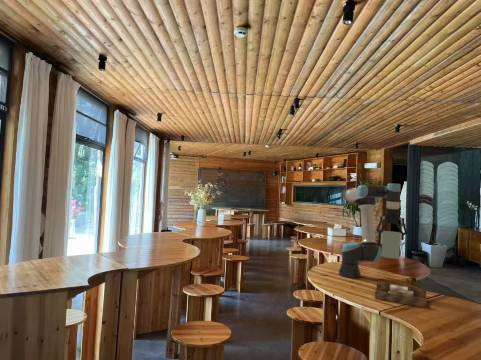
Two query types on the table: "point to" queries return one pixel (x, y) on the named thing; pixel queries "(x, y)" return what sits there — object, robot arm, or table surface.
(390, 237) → the grey-green flat block
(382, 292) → the rack
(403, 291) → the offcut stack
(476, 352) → the table surface
